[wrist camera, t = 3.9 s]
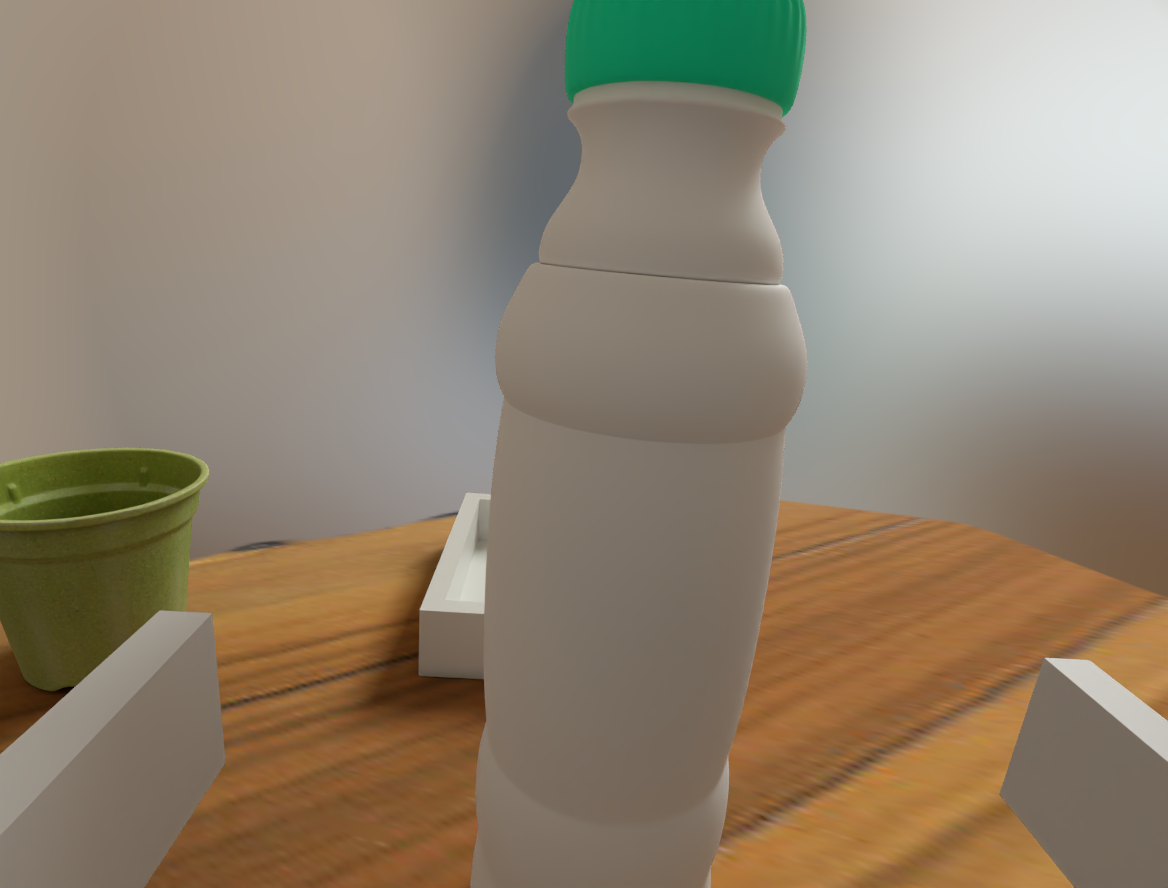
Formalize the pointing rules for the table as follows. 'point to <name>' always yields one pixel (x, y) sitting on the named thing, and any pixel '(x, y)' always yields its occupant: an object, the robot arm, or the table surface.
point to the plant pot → (91, 553)
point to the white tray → (457, 598)
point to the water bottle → (639, 454)
